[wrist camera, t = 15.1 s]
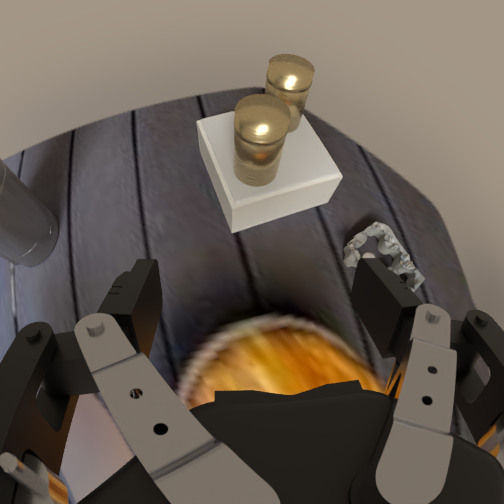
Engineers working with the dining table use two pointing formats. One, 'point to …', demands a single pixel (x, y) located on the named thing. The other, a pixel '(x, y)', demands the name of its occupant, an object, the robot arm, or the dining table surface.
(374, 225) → the grey piece
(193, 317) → the dining table surface
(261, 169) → the disc
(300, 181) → the scale
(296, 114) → the cylinder
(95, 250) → the dining table surface
